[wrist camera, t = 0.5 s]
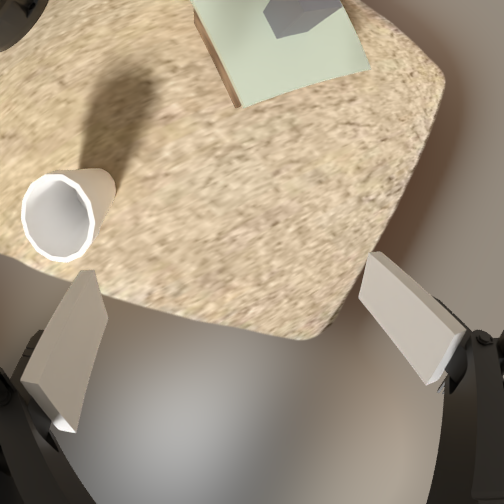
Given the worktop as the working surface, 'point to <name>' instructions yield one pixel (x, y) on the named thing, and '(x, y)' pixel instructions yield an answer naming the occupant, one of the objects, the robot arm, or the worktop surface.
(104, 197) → the foam cup
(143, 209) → the worktop surface
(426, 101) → the worktop surface
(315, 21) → the lid
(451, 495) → the robot arm
